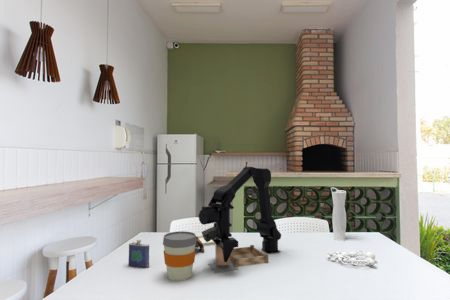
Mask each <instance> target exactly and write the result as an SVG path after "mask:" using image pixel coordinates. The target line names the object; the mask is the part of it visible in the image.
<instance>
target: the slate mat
mask: <svg viewBox="0 0 450 300" xmlns="http://www.w3.org/2000/svg"><path fill="white" fill-rule="evenodd" d="M207 265H208V266H209V268H210V269H211V271H212V272H213V273H214V274H218V273H225V272H226V273H227V272H233V271H239V270H240V269H239V267H235V266H234V264H232V263H231V262H230V264H228V265H217V264H216V263H215V262H213V263H207Z"/></svg>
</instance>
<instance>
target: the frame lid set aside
mask: <svg viewBox="0 0 450 300" xmlns="http://www.w3.org/2000/svg"><path fill="white" fill-rule="evenodd" d="M196 236H197V237H198V238H199V240H200V241H201V242H202V244H203V247H208V246H214V245H216V243H215V242H214V241H213V240H210V241H209V242H206V241H205V240H204V238H203V235H196Z"/></svg>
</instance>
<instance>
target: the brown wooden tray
mask: <svg viewBox="0 0 450 300" xmlns="http://www.w3.org/2000/svg"><path fill="white" fill-rule="evenodd" d="M230 262H231V263H232V264H234V266H235V267H237V268H239V267H246V266H252V265H260V264H268V263H269V254H268V253H263V252H262V251H261V250H259V249H257V248H256V247H255V245H254V244H250V245H249V246H243V247H235V248H234V249H233V251H232V252H231V255H230Z"/></svg>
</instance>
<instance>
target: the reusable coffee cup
mask: <svg viewBox="0 0 450 300" xmlns="http://www.w3.org/2000/svg"><path fill="white" fill-rule="evenodd" d="M196 236H197V235H196V233H195V232H190V231H184V230H183V231H172V232H168V233H166V234H164V235H163V239H162V240H163V241H162V246H163V249H164V250H163V258H164V264H165V266H166V273H167V274H166V275H167V278H168V279H170V280H171V281H178V282H180V281H185V280H188V279H190V278H191V277H192V274H193V266H194V263H195V260H196V251H197V250H196V249H197V248H195V244H196Z"/></svg>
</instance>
